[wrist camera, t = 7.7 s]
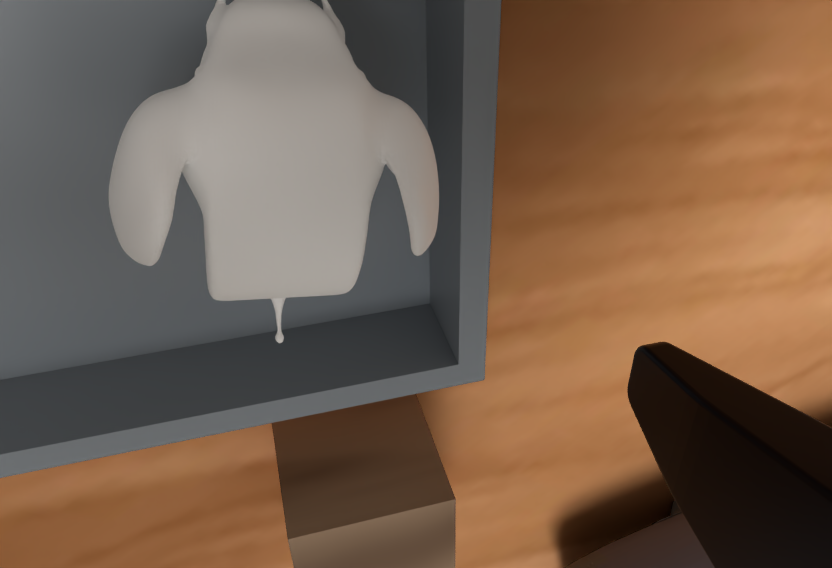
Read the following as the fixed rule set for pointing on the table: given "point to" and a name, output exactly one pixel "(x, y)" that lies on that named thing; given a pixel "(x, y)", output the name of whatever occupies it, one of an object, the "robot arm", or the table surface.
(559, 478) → the table surface
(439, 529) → the walnut cube
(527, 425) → the table surface
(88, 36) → the tote
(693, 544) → the bluetooth speaker
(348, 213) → the elephant figurine
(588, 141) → the table surface
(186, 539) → the table surface
